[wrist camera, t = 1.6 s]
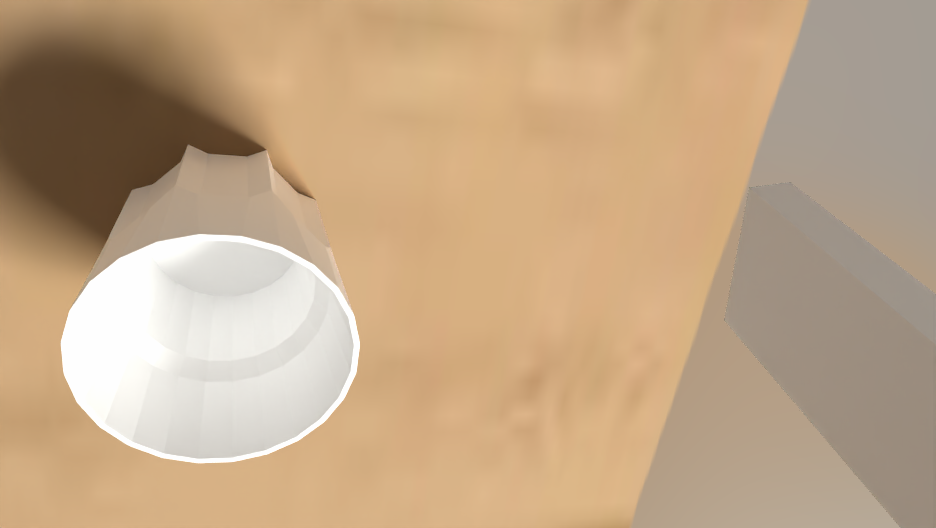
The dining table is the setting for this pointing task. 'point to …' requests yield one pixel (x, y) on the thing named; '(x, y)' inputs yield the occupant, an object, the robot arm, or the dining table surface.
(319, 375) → the cup
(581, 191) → the dining table surface
